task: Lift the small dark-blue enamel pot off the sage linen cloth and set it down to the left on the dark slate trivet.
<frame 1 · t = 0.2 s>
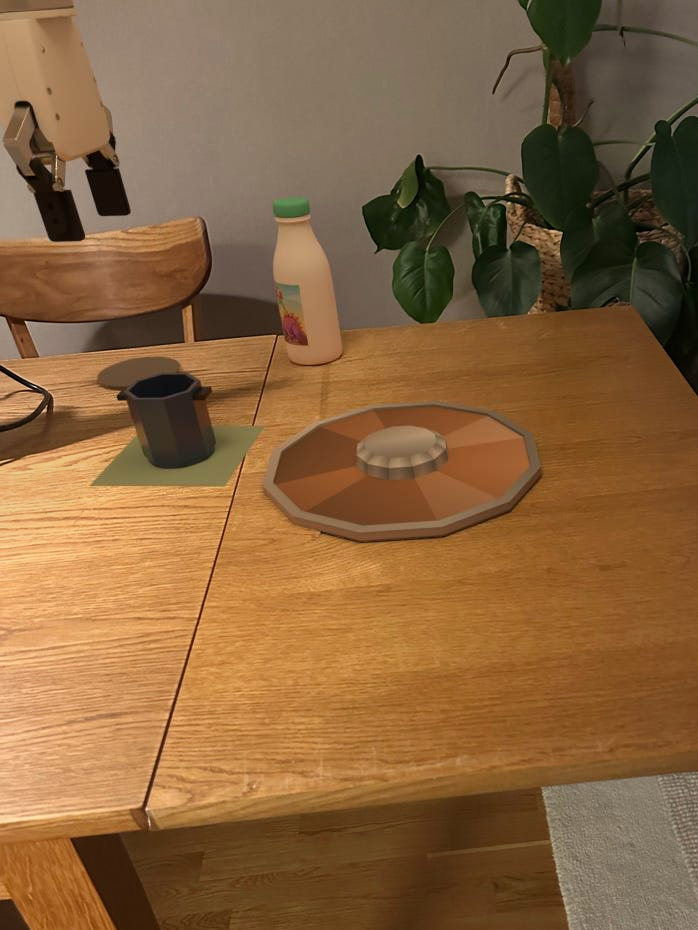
hand: (92, 227, 78), 24 cm above the table, tool pointing down, fingers open, 9 cm apart
shield: (403, 470, 90), on the table
cloth: (182, 456, 95), on the table
pot: (181, 453, 95), resting on cloth
trivet: (140, 376, 115), on the table
milk bottle: (316, 357, 118), on the table
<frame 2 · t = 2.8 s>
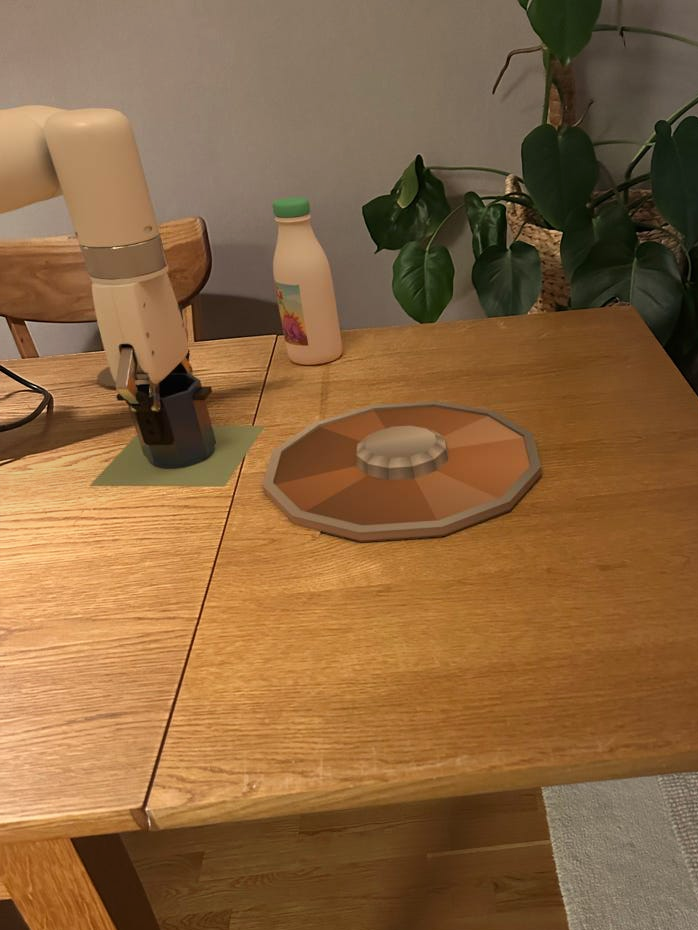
hand: (174, 426, 93), 4 cm above the table, tool pointing down, fingers closed on pot, 7 cm apart
pot: (181, 453, 95), resting on cloth, touching gripper
everything else where it was.
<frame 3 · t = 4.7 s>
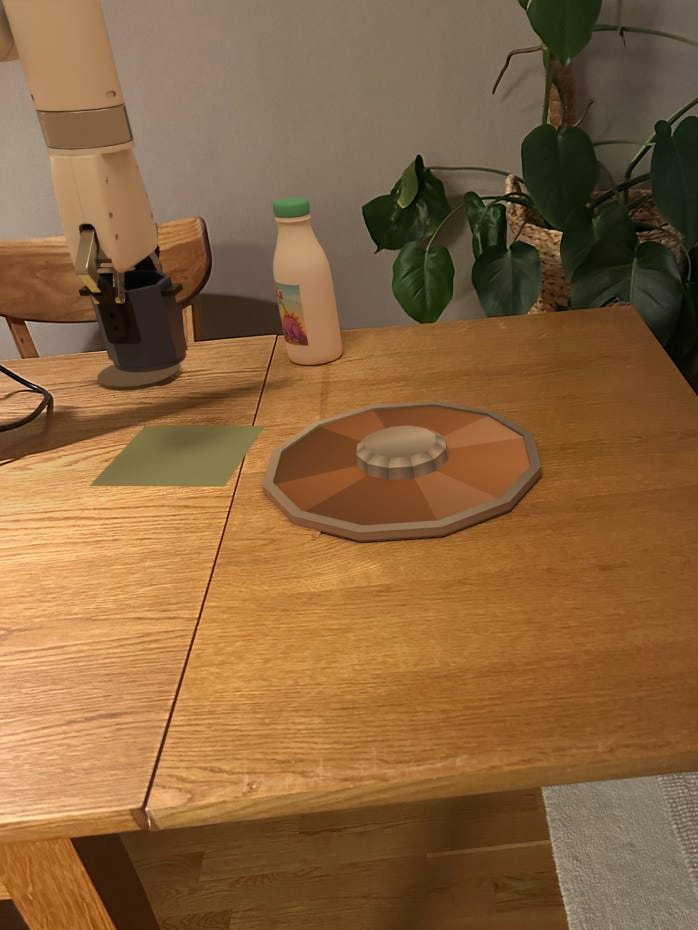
hand: (141, 327, 86), 14 cm above the table, tool pointing down, fingers closed on pot, 7 cm apart
pot: (150, 359, 88), point 11 cm above the table, touching gripper
everything else where it was.
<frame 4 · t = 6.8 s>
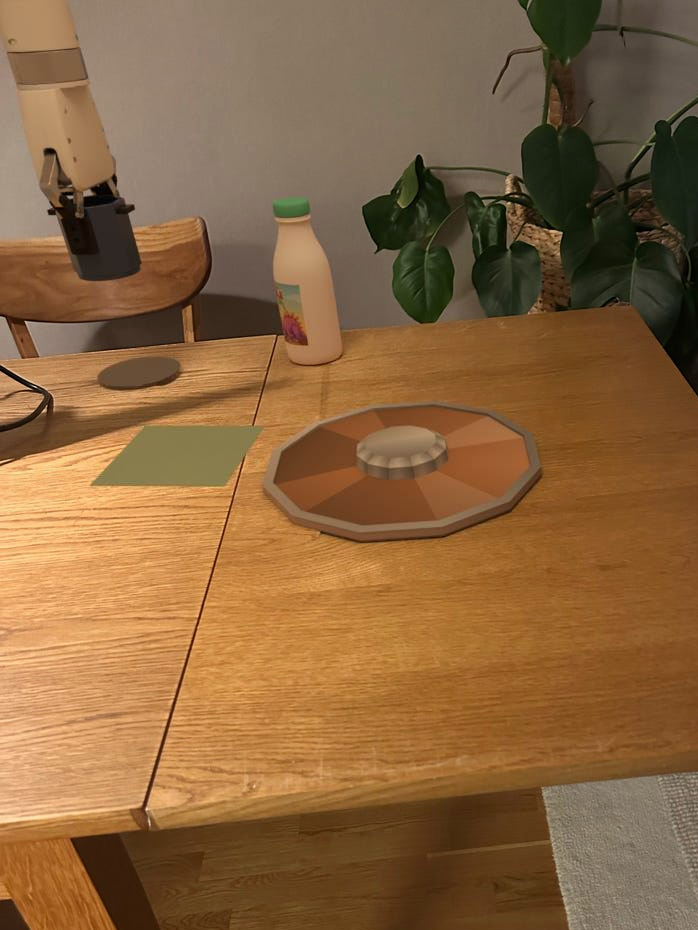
hand: (101, 244, 102), 18 cm above the table, tool pointing down, fingers closed on pot, 7 cm apart
pot: (109, 272, 104), point 14 cm above the table, touching gripper
everything else where it was.
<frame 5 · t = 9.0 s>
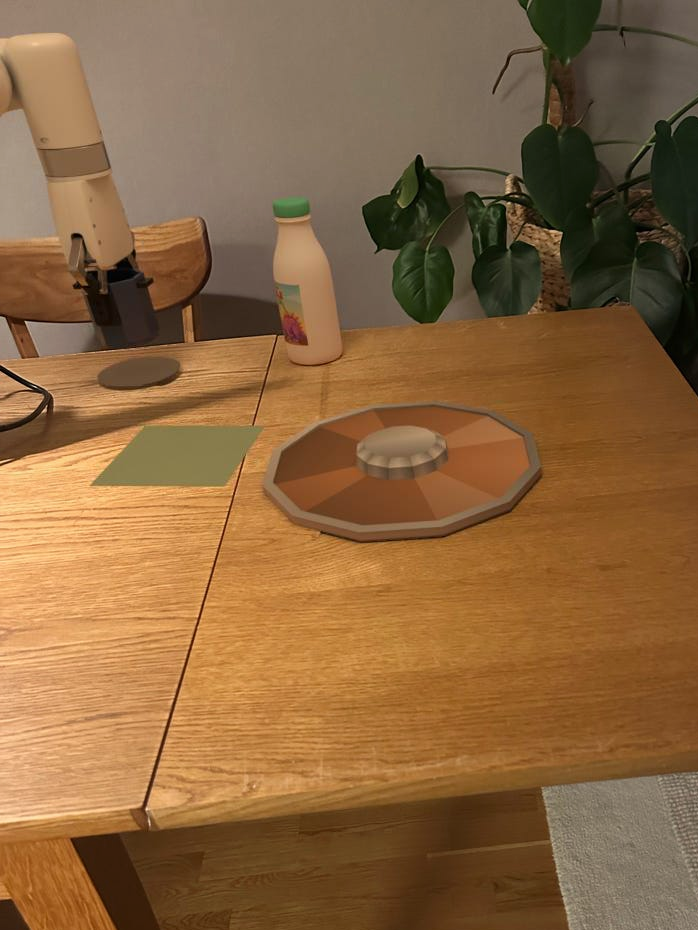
hand: (122, 313, 110), 8 cm above the table, tool pointing down, fingers closed on pot, 7 cm apart
pot: (130, 338, 112), point 5 cm above the table, touching gripper
everything else where it was.
when the fingers open (4 cm above the table, at t = 10.7 s): pot stays where it is, resting on trivet.
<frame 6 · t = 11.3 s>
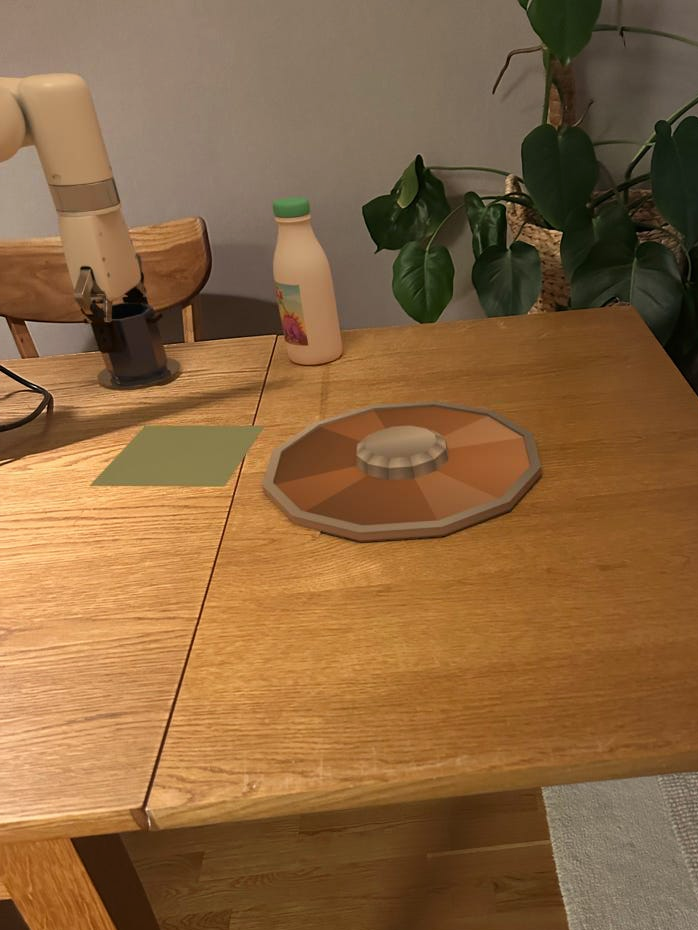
hand: (128, 339, 112), 5 cm above the table, tool pointing down, fingers open, 9 cm apart
pot: (139, 370, 115), point 1 cm above the table, touching trivet
everything else where it was.
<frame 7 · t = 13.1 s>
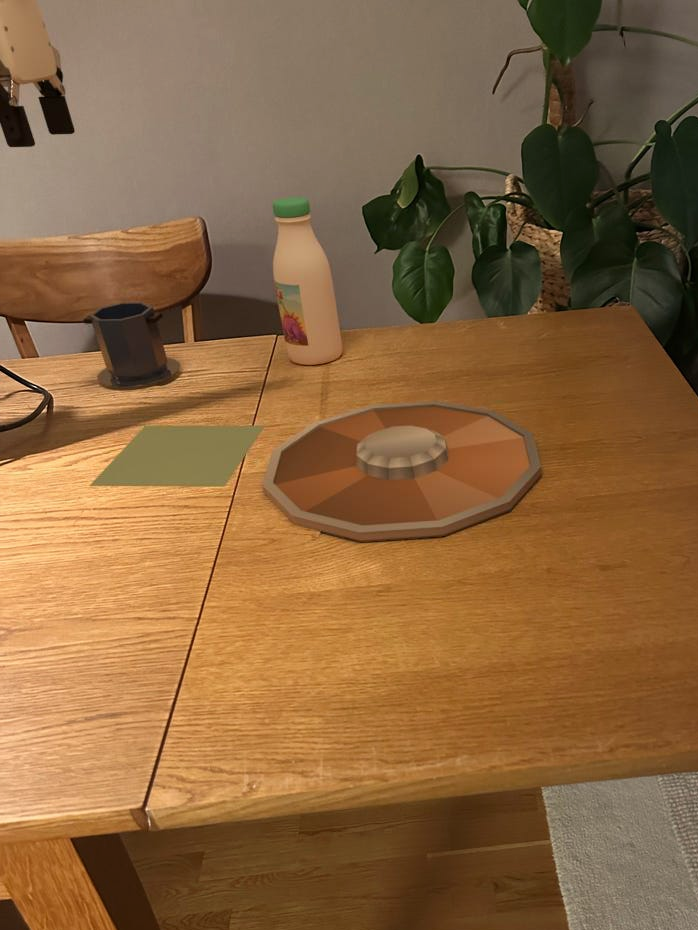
hand: (43, 140, 102), 28 cm above the table, tool pointing down, fingers open, 9 cm apart
nothing on the table moved.
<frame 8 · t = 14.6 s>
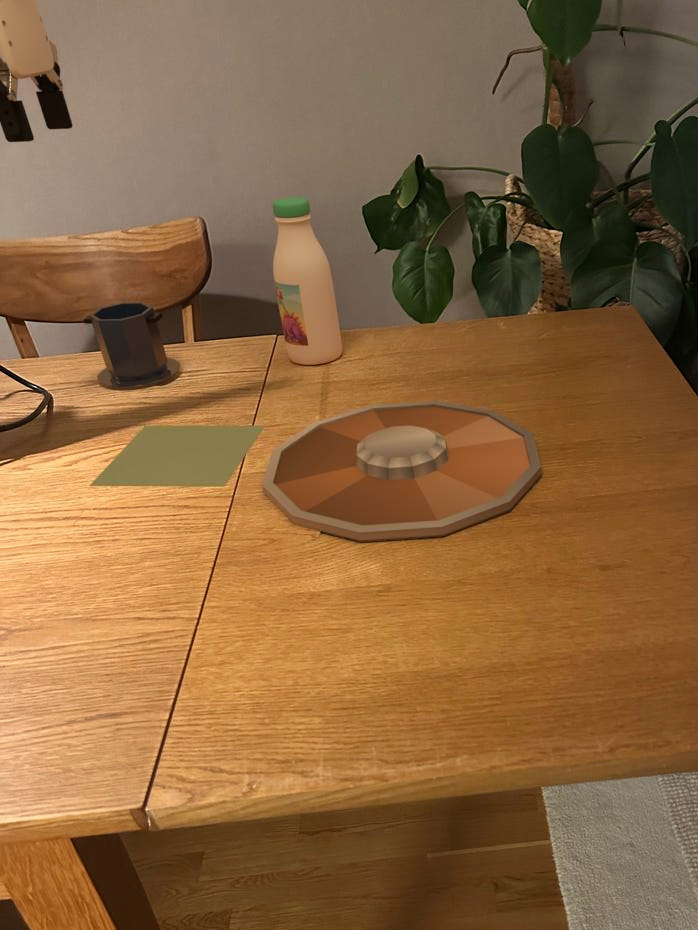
hand: (41, 134, 102), 28 cm above the table, tool pointing down, fingers open, 9 cm apart
nothing on the table moved.
at the end: pot 0.0 cm off-centre on the trivet, point 0.8 cm above the trivet's base; pot tilted 0°; pot touching trivet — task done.
